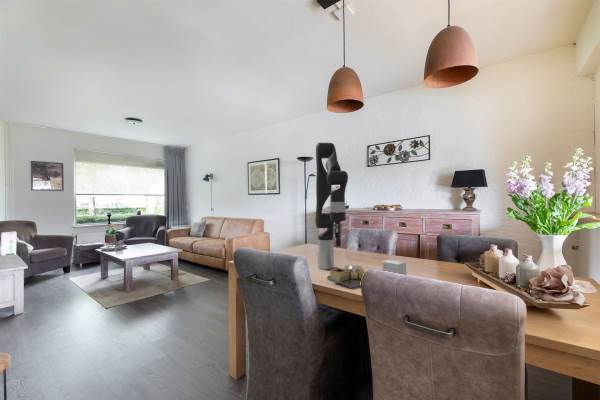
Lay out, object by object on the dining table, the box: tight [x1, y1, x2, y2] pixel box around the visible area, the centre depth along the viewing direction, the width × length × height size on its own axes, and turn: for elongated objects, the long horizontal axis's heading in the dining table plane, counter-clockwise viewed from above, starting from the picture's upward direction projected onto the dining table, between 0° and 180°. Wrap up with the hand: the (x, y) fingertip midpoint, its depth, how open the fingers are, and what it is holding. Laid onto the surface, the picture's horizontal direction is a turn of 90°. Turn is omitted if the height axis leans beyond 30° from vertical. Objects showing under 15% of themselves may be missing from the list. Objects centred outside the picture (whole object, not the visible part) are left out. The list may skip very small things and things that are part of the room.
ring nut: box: [329, 265, 365, 281], centre depth 132 cm, size 18×10×4 cm, turn 126°
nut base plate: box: [326, 265, 361, 290], centre depth 132 cm, size 18×17×6 cm
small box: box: [382, 259, 407, 276], centre depth 116 cm, size 8×6×13 cm
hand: (338, 246), depth 129 cm, fingers closed
